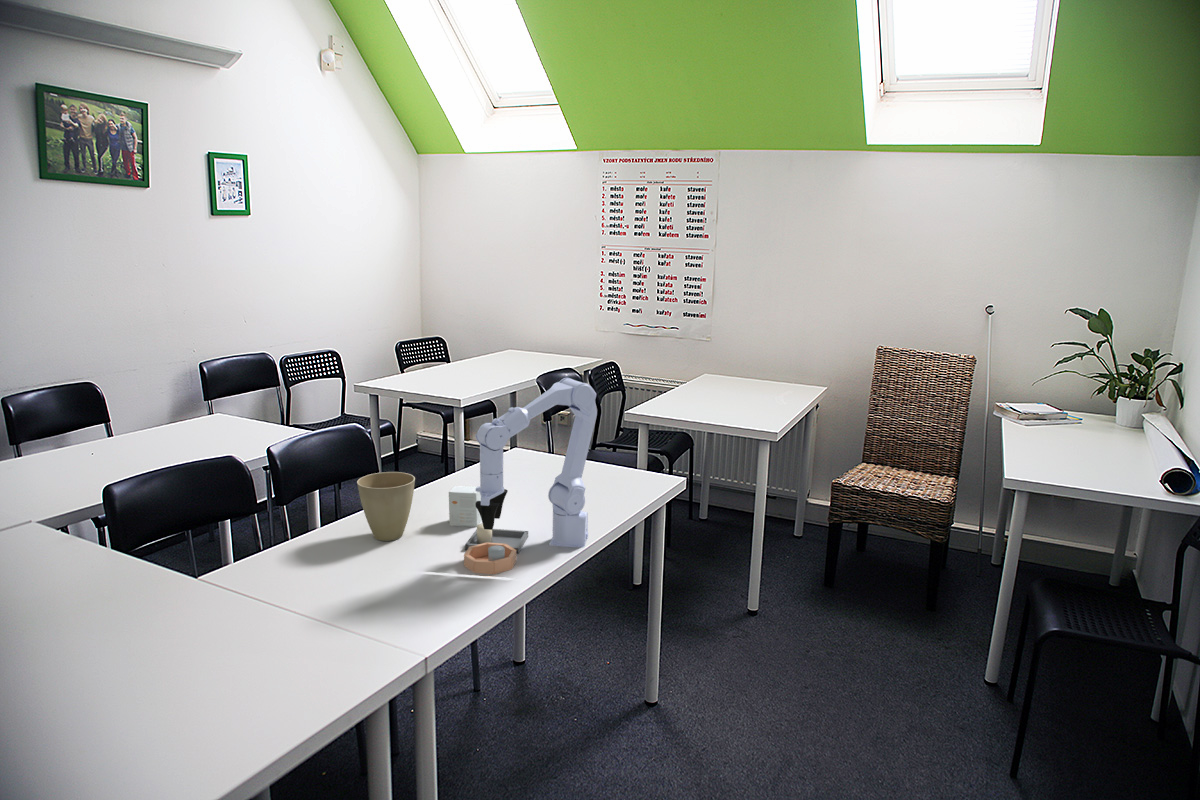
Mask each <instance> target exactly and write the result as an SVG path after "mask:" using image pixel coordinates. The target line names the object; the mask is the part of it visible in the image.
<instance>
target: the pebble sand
mask: <svg viewBox="0 0 1200 800" xmlns="http://www.w3.org/2000/svg"><path fill="white" fill-rule="evenodd" d="M476 530H477V543H478V544H483V543H487V542H488V543H492V530H488V529H484V527H483V523H482V522H481V523H479V525H477V527H476Z"/></svg>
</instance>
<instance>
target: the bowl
mask: <svg viewBox="0 0 1200 800" xmlns="http://www.w3.org/2000/svg"><path fill="white" fill-rule="evenodd" d="M495 545H499V546H503V547H504V548H505V558H503V559H499V560H495V561H488V548H489V547H491V546H495ZM516 562H517V554H516V549H514V548H512V547H511V546H509V545H507V544H502V543H488V542H487V543H483V544H479V545H475V546H471V547H469V548H468V550H465V553H464V554H463V566H464V567H465V568H466V569H468V570H469V571H471V572H472V573H474V574H481V576H483V577H484V576H487V575H496V574H501V573H504V572H507V571H510V570H512V569H513V568H514V566H515V564H516ZM483 574H485V575H483ZM486 574H487V575H486Z"/></svg>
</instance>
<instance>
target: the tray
mask: <svg viewBox="0 0 1200 800" xmlns="http://www.w3.org/2000/svg"><path fill="white" fill-rule="evenodd" d="M528 538H529V530H516V529H504V528H502V529H501V528H493V529H492V543H502V544H507V545H509V546H511V547H512V548H514V549H516V555H519V554H520V552H521V550H522V548H523V546H524V545H525V543H526V541H527V540H528ZM475 545H479V544H478V543H477V529H475V530H474V532H473V533H472V535H471V536H470V537H469V538H468V540H467V542H466V543H465V546H464V548H465V549H464V550H465V551H467V550H468V548H469V547H471V546H475Z"/></svg>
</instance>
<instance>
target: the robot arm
mask: <svg viewBox="0 0 1200 800" xmlns="http://www.w3.org/2000/svg"><path fill="white" fill-rule="evenodd" d="M596 398H597V392H596V391H595V389H594V388H593V387H592V386H591V384H589V383H587V382H582V381H578V380H576V379H573V378H570V377H564V378H562V379H561V380H559V381H556V382H555V383H553V384H552V386H551V387H550V388H549V389H547V390H546V391H545V392H543V393H542V394H541V395H539V396H538V397H536V398H535V399H533V400H532V401H531V402H529V403H528V404H527V405H525V406H524V407H519V406H516V407H513V406H512V407H509V408H508V409H507V412H505V413H504V414H502V415H501V416H499V417H498V418H497V417H496V418H494V419H492V421H491V422H485V423H483V424H481V426H479V429H478V430H477V433H475V435H474V436H475V439H476V441H477V443H479V485H480V486H475V487H476V491H477V492H480V495H481V501H477V502H476V503H475V505H476V508H477V509H478V511H479V513H480V516H481V519H482V520H481V524H482V523H483V527H484V529H488V530H492V529H494V526H495V520H497V519H498V520H500V519H501V515H502V510H503V506H504V505H503V504H504V501H505V498H506V496H507V494H508V489H505V486H504V448H505V447H506V445H507V444H508V440H510V439H511V438H513V436H515V435H517V434H519V433H520V432H522V431H524V430H525V429H527V428H528V427H529V426H530V423H531V420H532V419H533V418H535V417H537V416H539V415H540V414H543V413H544V412H546V411H548V410H550V409H551V408H553V407H555V406H557V405H558V406H567V407H568V408H569V409H570V410H571V413H572V414H573V415H574V421H573V424H572V427H571V432H570V436H569V441H568V445H567V450H566V453H565V456H564V460H563V461H564V462H563V466H562V470H561V473H560V474H558V475H557V476H556V477H555V478H554V482H553V483H552V486H551V487H550V488H549V490H548V495H547V497H548V500H549V502H550V504H552V536H551V539H550V542H549V543H548V545H549V546H555V547H568V548H569V547H570V548H571V547H572V548H582V549H583V548H585V547H586V544H587V540H588V538H589V513H588V511H583V509H584V507H585V504H586V496H585V493H586V486H585V483H584V481H583V479H582V477H583V473H584V469H585V465H586V461H587V457H588V454H589V449H590V445H591V440H592V437H593V432H594V428H595V423H596V420H597V416H598V409H597V404H596Z"/></svg>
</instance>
